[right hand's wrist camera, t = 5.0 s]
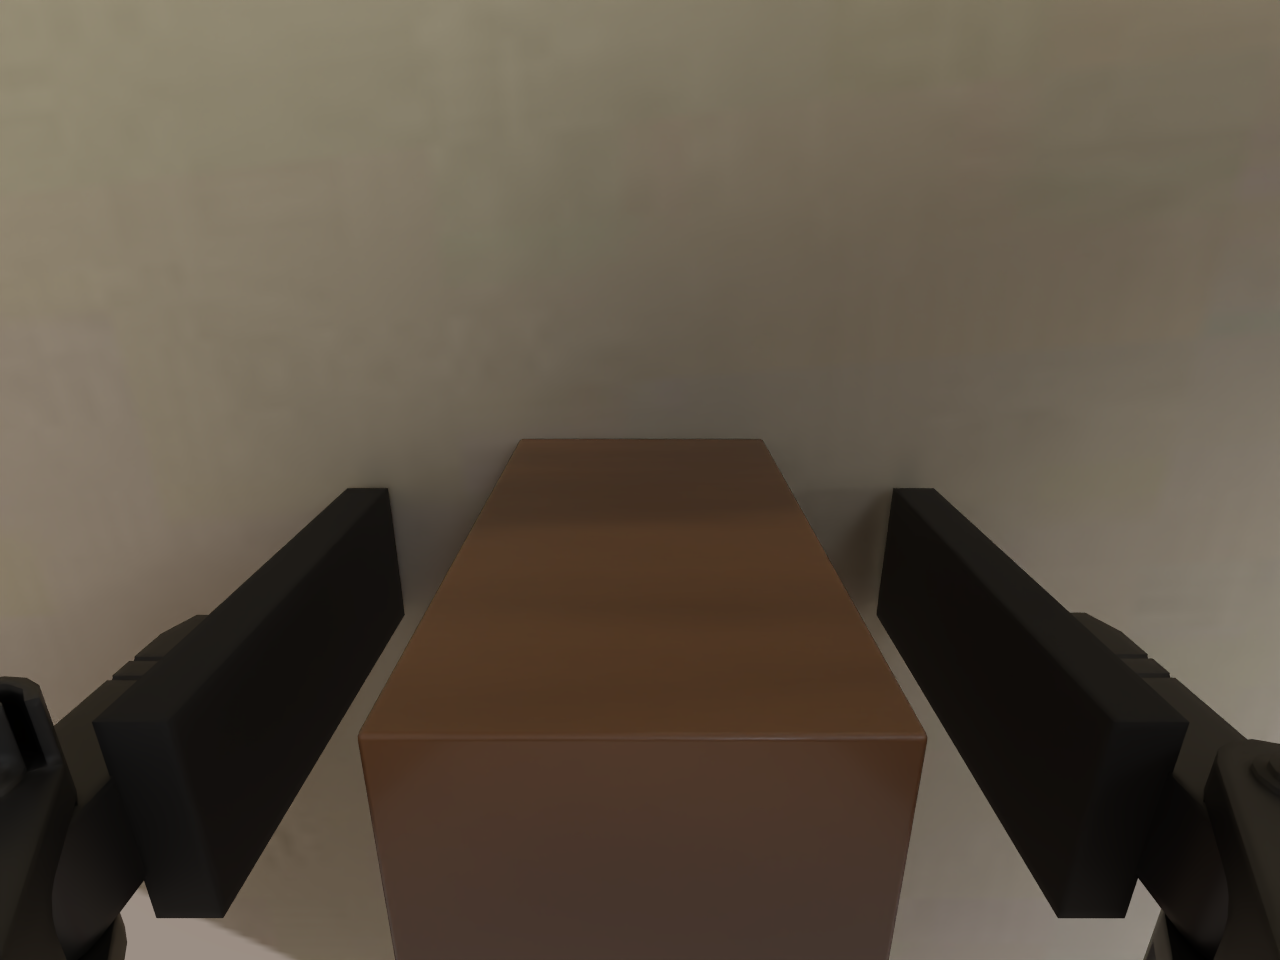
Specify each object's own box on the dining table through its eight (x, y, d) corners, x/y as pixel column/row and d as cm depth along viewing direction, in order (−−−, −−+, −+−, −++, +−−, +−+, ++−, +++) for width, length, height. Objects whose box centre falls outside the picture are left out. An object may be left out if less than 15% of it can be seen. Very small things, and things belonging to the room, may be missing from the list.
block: (520, 438, 13) (353, 734, 5) (763, 438, 13) (931, 736, 5) (532, 646, 15) (417, 1100, 7) (750, 646, 15) (865, 1100, 7)
